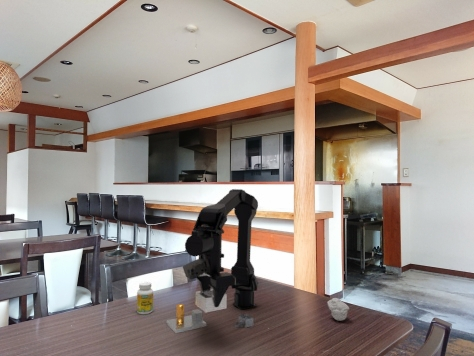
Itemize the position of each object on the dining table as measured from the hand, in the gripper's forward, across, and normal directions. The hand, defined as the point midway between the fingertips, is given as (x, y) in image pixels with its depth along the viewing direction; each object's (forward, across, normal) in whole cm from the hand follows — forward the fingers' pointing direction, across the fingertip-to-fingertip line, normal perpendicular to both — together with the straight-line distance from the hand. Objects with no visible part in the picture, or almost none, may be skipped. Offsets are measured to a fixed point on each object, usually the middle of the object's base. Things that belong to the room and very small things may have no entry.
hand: (210, 303), depth 100 cm
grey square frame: (+1, 0, 0) cm, 1 cm away
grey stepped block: (+9, 0, +11) cm, 15 cm away
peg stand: (+9, -9, -4) cm, 13 cm away
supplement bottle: (+9, -26, -12) cm, 30 cm away
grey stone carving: (+9, +12, +41) cm, 44 cm away
